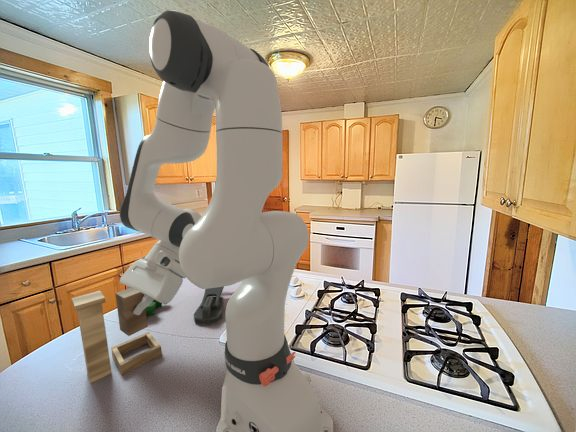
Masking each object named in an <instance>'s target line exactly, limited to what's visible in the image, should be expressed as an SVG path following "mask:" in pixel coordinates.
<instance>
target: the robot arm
mask: <svg viewBox="0 0 576 432" xmlns="http://www.w3.org/2000/svg"><path fill="white" fill-rule="evenodd" d="M148 40H149V42H148V50H149V51H148V52H149V59H150V63H151V66H152V68H153V70H154V71H155V73H156V75H157V77H159V78H160V80H162V85H161V89H160V92H159V97H158V101H157V107H156V108H157V109H156V116H155V124H154V126H153V129H152V131H151V133H150V134H147V135H145V136H144V137H143V138H142V139H141V141H140V142H139V144H138V147H137V150H136V153H135V157H134V162H133V165H132V169H131V173H130V179H129V181H128V185H127V190H126V193H125V196H124V199H123V200H122V202H121V205H120V208H119V218H120V221H121V224H122V225H123V226H124V227H125V228H128V229H131V230H134V231H137V232H141V233H142V234H145V235H147V236H148V237H152V238H153V239H156V240H158V241H156V242H155V243H154V245H153V246H152V247H151V248H150V250H149V252H147V254H146V256H143V257H141V258H139V259H137V260H135V261H134V262H133V263H132V264H131V265H130V266H129V267H128V268H127V269H126V270H125V272H124V273H123V274H122V275H121V276H120V279H119V283H120V284H122V285H124V286H126V287H127V289H129V288H134V289H136V290H138V291H140V292H141V293H142V294H144V297H143V298H142V299H143V300H142V301H141V302H140V303H139V304H138V305H135V306H134V307H133V309H132V310H131V312H132V313H134V314H136V315H140V314H141V313H142V311H143V310H144V309H145V308H146V307H147V306H149V305H150V304H151V303H152V302H153V300H156V301H158V302H160V303H162V305H168V304H169V303H170V302H172V300H174V298H175V296H176V295H177V293H178V292H179V290H180V288H181V287H182V285H183V282H184V280H183V279H186V280H188V281H189V282H190V283H191V284H193V285H194V286H196V287H198V288H199V289H200V290H205V289H209V288H217V287H223V286H224V287H229V286H232V285H233V286H234V285H236V284H237V283H240V284H239V286H238V287H237V288H236V289H235V291H234V292H233V293H232V294H231V295H230V298H229V299H228V301H227V304H226V307H225V312H224V313H225V331H226V332H225V333H226V341H225V344H224V360H225V362H224V363H225V367H226V372H225V376H224V379H223V384H222V388H221V399H220V401H221V403H220V404H221V406H220V418H219V421H218V423H217V425H216V430H215V432H334V420H333V418H332V417H331V416H330V414H329V413H327V411H326V410H325V409H324V407H323V406H321V405H320V400H319V396H318V395H317V392H316V391H315V389H314V388H313V387H312V385H311V383H312V381H311V377H310V375H309V374H308V373H307V372H301V370H300V368H299V367H298V366H297V364H296V363H295V361H294V359H295V358H296V357H297V356H296V351H293V352H292V353H291V349H290V346H289V342H288V339H287V337H286V335H285V313H286V312H285V311H286V309H285V306H286V300H287V299H286V298H287V295H288V291H289V288H290V287H289V286H290V285H291V281H292V278H293V277H292V276H293V274H294V271H295V268H296V267H297V264H298V262H299V260H300V258H301V256H302V255H303V254H304V252H305V251H306V250H307V249H308V246H309V241H310V232H309V228H308V225H307V224H306V222H305V220H304V219H303V217H301V216H300V215H299V214H298V213H295V212H291V211H290V212H289V211H284V210H271V211H270V210H269V211H263V209H264V206H265V203H266V201H267V199H268V197H269V196H270V195H271V193H272V192H273V191H274V190H275V189H276V188H277V187H278V186H279V185H280V184H281V182H282V179H283V175H284V173H283V159H284V157H283V155H284V154H283V119H282V118H283V117H282V107H281V106H282V105H281V97H280V92H279V91H280V90H279V87H278V81H277V77H276V75H275V73H274V72H273V69H271V68H270V66H269V63H268V61H266V59H265V58H264V57H263V56H262V55H261V53H259V52H257V50H255V49H253V48H250V47H248V46H247V45H245V44H243V43H242V42H241V41H239V40H237V39H236V38H234V37H232V36H231V35H229V34H228V33H227V32H226V31H223V30H221V29H219V28H217V27H215V26H213V25H210V24H208V23H205V22H202V21H199V20H196V19H195V18H194V17H193V16H192V15H190V14H187V13H184V12H180V11H174V10H165V11H164V12H162V13H161V14H159V16H157V18H155V20H154V21H153V24H152V26H151V29H150V35H149V39H148ZM214 112H215V137H216V175H215V176H216V178H215V184H214V189H213V192H212V196H211V198H210V201H209V203H208V205H207V207H206V209H205V210H204V212H203V214H202V215H201V214H200V213H198V212H197V211H195V210H194V209H192V208H185V209H183V208H181V207H179V206H176V205H174V204H171V203H169V202H166V201H165V200H162V199H161V198H160V199H159V198H158V197H157V195H155V193H154V189H155V185H156V182H157V178H158V176H159V171H160V169H161V167H162V166H163V165H165V164H167V165H169V164H172V165H173V164H174V165H175V164H186V163H190V162H194V161H195V160H197V159H198V160H199V158H201V157H202V156H203V155H204V153H206V150H207V148H208V145H209V142H210V137H211V136H210V135H211V131H212V125H213V117H214Z"/></svg>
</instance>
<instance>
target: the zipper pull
mask: <svg viewBox="0 0 576 432" xmlns="http://www.w3.org/2000/svg"><path fill="white" fill-rule="evenodd" d="M224 288H225V286H223V287H217V288H209V289H204V294H203V298H202V300H201V303H200V304H199V306H198V307H197V308H196V311H195V312H194V313H193V321H194V324H195V325H199V326H207V325H208V326H209V325H213V324H218V323H219V322H220V321H221V320H222V319H223V315H224V314H223V313H224V297H222V296H221V295H222V293H223V290H224Z"/></svg>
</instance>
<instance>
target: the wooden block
mask: <svg viewBox="0 0 576 432" xmlns="http://www.w3.org/2000/svg"><path fill="white" fill-rule="evenodd" d="M143 297H144V294H142V293H141V292H140V291H138V290H136V289H134V288H129V289H128V288H126V289H124V290H120V291H117V292H116V293H115V301H116V308H117V316H118V323H119V324H118V325H119V330H120V331H121V332H122V333H124V334H125V335H126V336H128V337H130V336H132V335H134V334H137V333H138V332H140V331H142V330H144V329H146V328H148V319H147V314H146V309H144V310H143V311H142V313H141V314H140V315H136V314H134V313H132V312H131V310H132V309H133V307H134V306H135V305H138V304H139V303H140V302H141V301H142V300H143V299H142V298H143Z"/></svg>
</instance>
